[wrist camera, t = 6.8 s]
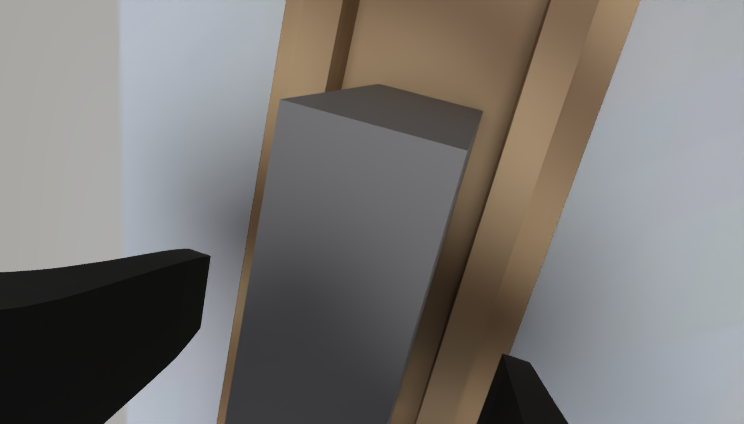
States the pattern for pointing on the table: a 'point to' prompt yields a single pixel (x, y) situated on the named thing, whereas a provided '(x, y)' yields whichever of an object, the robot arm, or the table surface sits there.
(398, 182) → the grey rectangular prism
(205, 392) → the table surface
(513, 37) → the wooden tray
